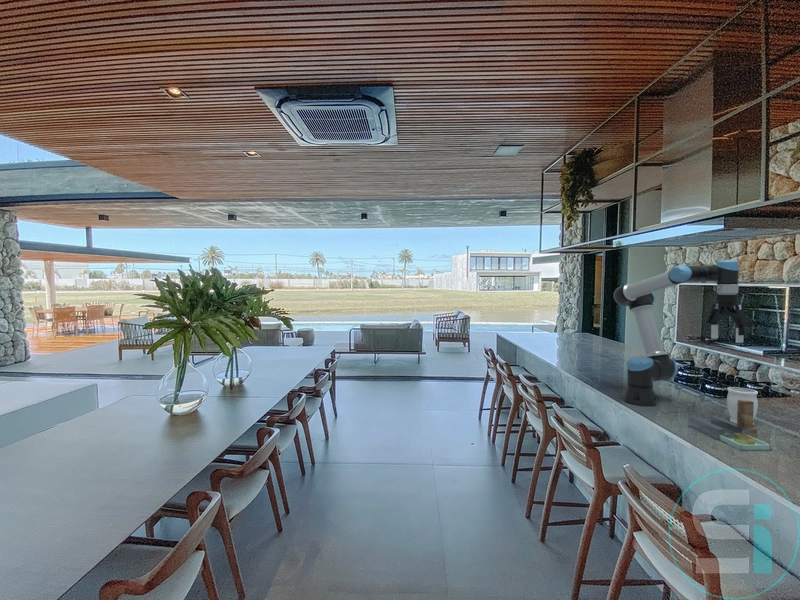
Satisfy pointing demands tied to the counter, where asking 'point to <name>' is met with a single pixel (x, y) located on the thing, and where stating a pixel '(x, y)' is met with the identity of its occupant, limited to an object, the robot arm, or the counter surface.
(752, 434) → the stepped wooden block
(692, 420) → the slot board
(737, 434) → the chip
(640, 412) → the counter surface
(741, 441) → the yellow sponge cube
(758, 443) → the tray
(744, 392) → the jar
